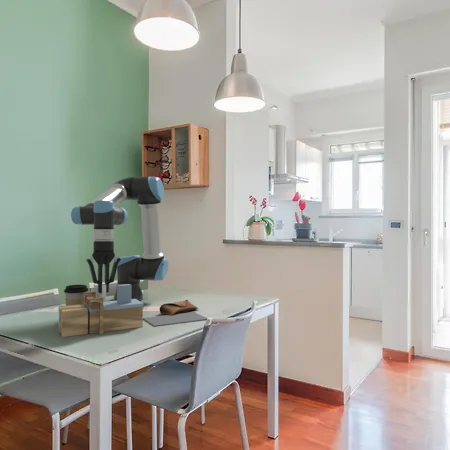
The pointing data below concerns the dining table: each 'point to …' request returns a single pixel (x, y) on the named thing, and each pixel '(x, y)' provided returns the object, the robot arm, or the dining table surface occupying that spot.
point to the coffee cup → (75, 294)
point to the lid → (120, 300)
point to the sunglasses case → (177, 307)
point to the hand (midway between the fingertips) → (103, 301)
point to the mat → (174, 319)
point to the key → (91, 303)
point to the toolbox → (97, 318)
